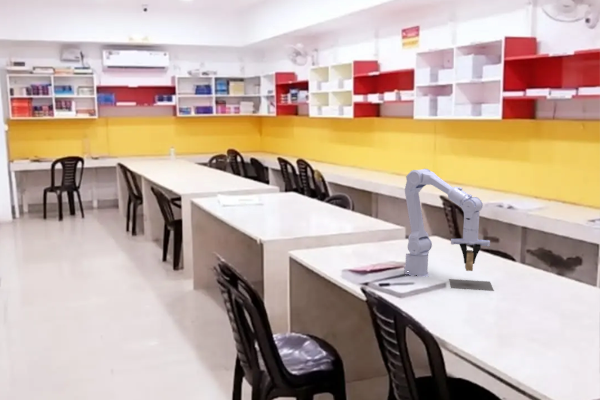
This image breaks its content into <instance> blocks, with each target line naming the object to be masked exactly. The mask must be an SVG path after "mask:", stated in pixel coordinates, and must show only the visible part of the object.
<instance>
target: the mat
mask: <svg viewBox="0 0 600 400" xmlns="http://www.w3.org/2000/svg"><path fill="white" fill-rule="evenodd" d="M448 282H449V285H450V286H449V287H450V289H458V290H473V291H485V292H486V291H490V292H494V291H495V290H494V287H493V285H492V283H491V281H487V280H486V281H485V280H473V279H454V278H448Z"/></svg>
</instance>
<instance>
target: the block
mask: <svg viewBox="0 0 600 400" xmlns="http://www.w3.org/2000/svg"><path fill="white" fill-rule="evenodd" d="M473 254H474V253H473V249H471V250H470V249H467V253H466V264H465V263H464V268H465V271H467V272H473V269H474V264H473Z"/></svg>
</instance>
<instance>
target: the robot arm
mask: <svg viewBox="0 0 600 400" xmlns="http://www.w3.org/2000/svg"><path fill="white" fill-rule="evenodd" d="M405 178H406V183H405V185H404V187H405V188H404V195H405V201H406V207H407V214H408V218H409V219H408V221H409V226H410V234H409V235H408V242H407V250H408V252H409V253H405V263H404V264H405V266H404V270H403V271H404V275H405V274H409V275H413V276H412V277H415V276H414V275H417V276H416V277H423V276H425V277H427V278H428V277H429V271H428V270H429V269H428V268H429V267H428V265H429V252H430V250H432V247H433V242H432V241H431V239H430V235H429V233H428V232H427V231H426V230H425V225H424V220H423V219H424V218H423V213H422V205H421V199H420V195H419V194H420V192H421V191H422V189H423V188H424V187H425V186H427V185H429V186H433V187H435V188H436V189H438V190H439V191H442V192H443V193H445V194H447V198H448V200H450V201H451V202H453V203H454V204H456V205H457V206H458V207H460V208H461V211H462V212H463V226H462V227H463V229H462V238H450V245H459V247H460V249H461V252H462V256H463V264H464V265H465V264H466V253H467V250H468V246H472V251H473V253H474V254H473V265H475V262H476V258H477V257H478V254H479V253H480V251H481V249H482V247H481V246H485V247H486V246H487V247H490V246H491V240H488V239H479V229H480V228H479V227H480V211H481V210H482V209H483V202H482V200H481V199H480V198H479V197H477V196H473V195H472V194H470V193H467V192H466V191H465V190H463V187H461V186H454V187H453V186H452V185H450V184H449V183H448V182H446V181H445V180H443V179H442V178H441V177H439V176H438V175H437V174H436V173H435V172H434V171H431V170H430V169H428V168H422V169H413V170H410V172H409V173H408V174H407V175H406V177H405ZM407 271H409V272H407ZM425 277H424V278H425Z"/></svg>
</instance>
